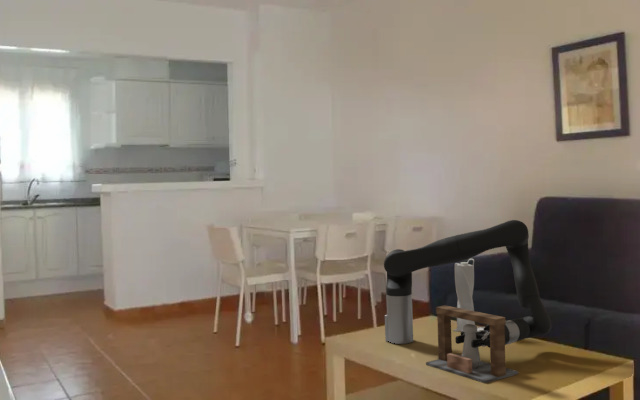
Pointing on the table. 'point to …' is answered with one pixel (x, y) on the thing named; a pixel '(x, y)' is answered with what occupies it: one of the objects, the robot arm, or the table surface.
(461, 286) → the skyscraper
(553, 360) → the table surface
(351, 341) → the table surface
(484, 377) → the gateway
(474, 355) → the salt shaker
